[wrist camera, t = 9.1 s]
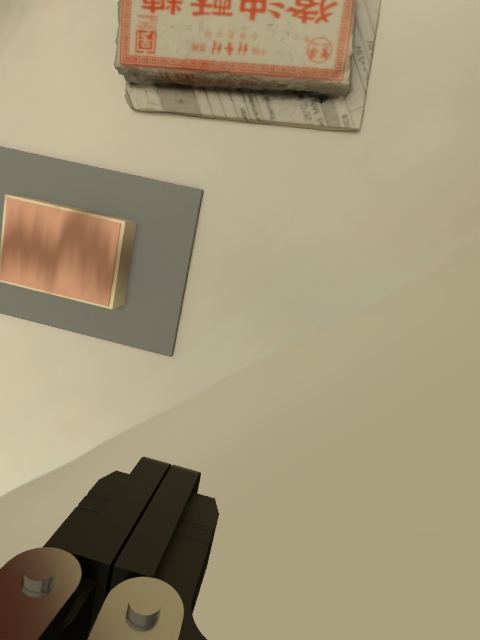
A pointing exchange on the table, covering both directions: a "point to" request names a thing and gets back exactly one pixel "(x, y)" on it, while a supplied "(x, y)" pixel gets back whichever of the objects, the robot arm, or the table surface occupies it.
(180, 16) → the packaged product
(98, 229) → the birch tile
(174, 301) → the mat
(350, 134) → the table surface
